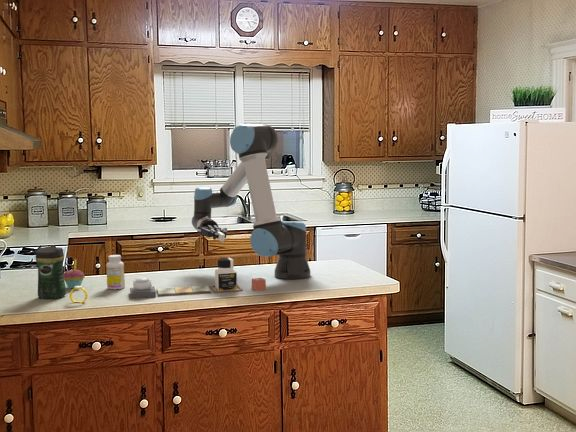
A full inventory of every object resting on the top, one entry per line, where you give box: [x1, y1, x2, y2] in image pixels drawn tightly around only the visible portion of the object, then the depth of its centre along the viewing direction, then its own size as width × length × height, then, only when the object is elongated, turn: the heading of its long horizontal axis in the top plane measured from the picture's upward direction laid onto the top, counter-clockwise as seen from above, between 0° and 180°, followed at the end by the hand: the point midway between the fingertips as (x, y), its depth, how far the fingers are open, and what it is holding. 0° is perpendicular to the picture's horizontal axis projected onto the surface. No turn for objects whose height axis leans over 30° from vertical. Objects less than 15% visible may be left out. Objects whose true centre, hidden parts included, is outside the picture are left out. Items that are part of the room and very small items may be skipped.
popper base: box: [129, 286, 157, 300], centre depth 247 cm, size 9×9×2 cm
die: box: [251, 277, 267, 291], centre depth 255 cm, size 4×4×4 cm
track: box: [156, 285, 212, 297], centre depth 252 cm, size 20×10×1 cm, turn 105°
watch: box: [69, 285, 89, 304], centre depth 236 cm, size 6×3×6 cm, turn 88°
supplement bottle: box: [105, 254, 126, 291], centre depth 259 cm, size 7×7×13 cm
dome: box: [132, 277, 153, 290], centre depth 247 cm, size 7×7×3 cm
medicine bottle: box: [214, 257, 238, 291], centre depth 256 cm, size 7×7×12 cm
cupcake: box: [63, 259, 86, 289], centre depth 260 cm, size 9×8×12 cm
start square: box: [209, 283, 243, 294], centre depth 256 cm, size 11×11×1 cm
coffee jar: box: [35, 246, 67, 300], centre depth 245 cm, size 10×8×19 cm
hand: (222, 238), depth 262 cm, fingers closed
